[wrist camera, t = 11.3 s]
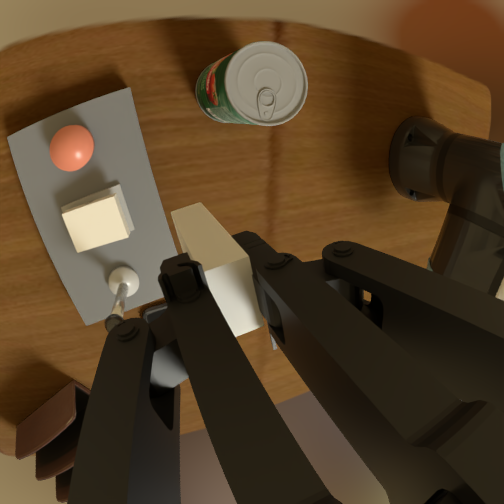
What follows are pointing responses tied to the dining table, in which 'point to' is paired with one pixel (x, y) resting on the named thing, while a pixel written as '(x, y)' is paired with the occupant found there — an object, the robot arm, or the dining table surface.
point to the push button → (72, 147)
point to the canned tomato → (253, 86)
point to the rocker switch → (96, 223)
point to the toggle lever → (117, 307)
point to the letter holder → (55, 436)
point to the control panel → (91, 188)
